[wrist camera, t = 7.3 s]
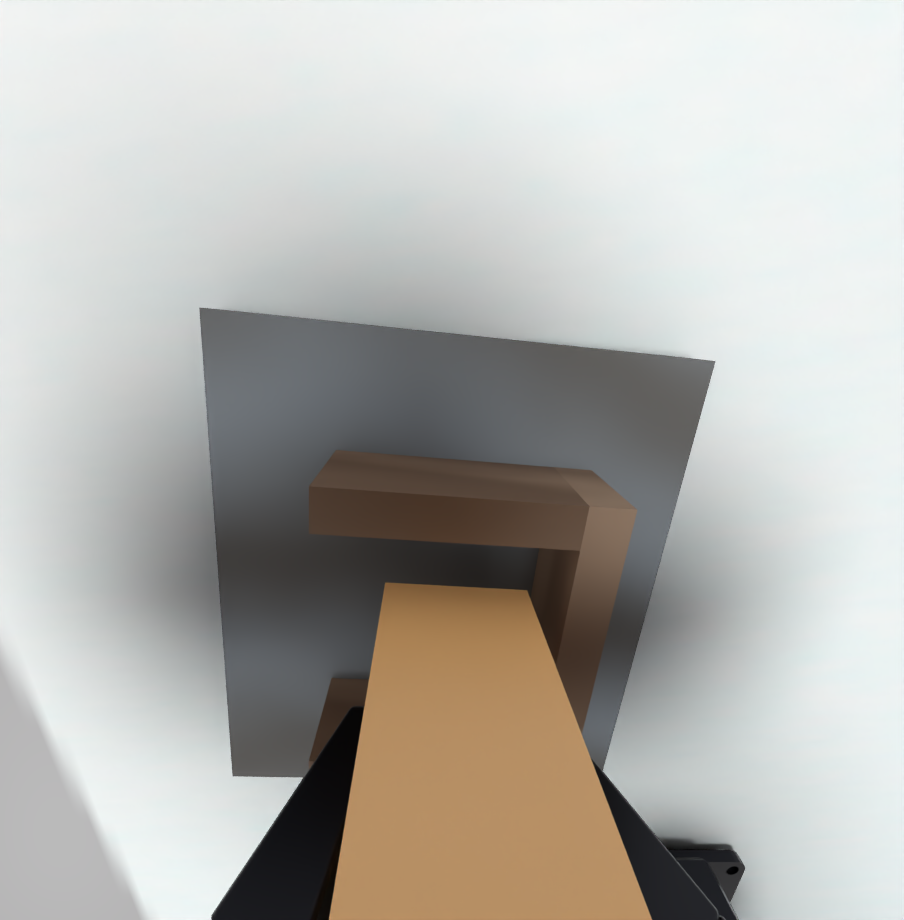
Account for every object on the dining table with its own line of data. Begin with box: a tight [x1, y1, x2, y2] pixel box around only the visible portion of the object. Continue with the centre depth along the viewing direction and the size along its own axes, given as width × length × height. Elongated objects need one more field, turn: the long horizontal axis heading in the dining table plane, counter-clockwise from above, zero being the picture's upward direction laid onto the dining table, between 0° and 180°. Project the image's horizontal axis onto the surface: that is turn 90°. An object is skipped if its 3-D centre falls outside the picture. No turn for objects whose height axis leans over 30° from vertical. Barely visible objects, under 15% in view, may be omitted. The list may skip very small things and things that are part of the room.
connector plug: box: [329, 583, 652, 920], centre depth 6 cm, size 4×3×8 cm
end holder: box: [200, 308, 715, 777], centre depth 11 cm, size 14×12×4 cm
